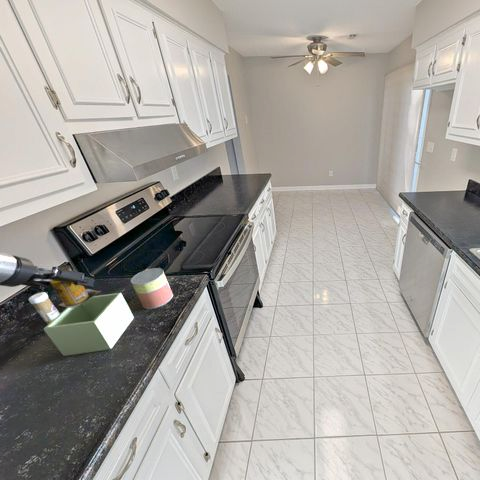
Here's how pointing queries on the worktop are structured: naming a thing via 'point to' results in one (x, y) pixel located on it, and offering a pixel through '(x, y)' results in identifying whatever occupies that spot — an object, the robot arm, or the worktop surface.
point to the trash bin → (90, 325)
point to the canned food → (152, 288)
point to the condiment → (72, 292)
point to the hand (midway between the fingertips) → (81, 284)
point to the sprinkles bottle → (44, 307)
